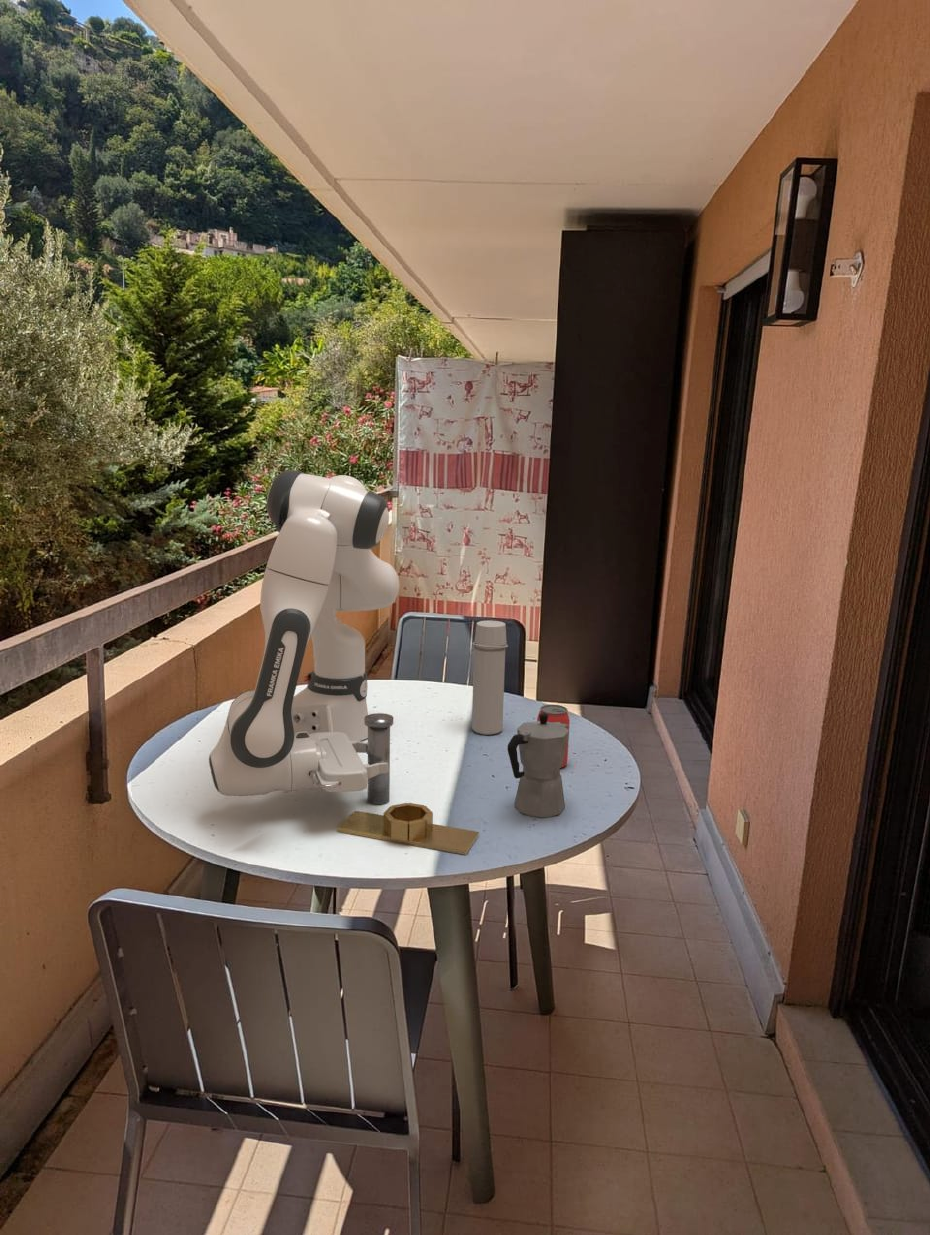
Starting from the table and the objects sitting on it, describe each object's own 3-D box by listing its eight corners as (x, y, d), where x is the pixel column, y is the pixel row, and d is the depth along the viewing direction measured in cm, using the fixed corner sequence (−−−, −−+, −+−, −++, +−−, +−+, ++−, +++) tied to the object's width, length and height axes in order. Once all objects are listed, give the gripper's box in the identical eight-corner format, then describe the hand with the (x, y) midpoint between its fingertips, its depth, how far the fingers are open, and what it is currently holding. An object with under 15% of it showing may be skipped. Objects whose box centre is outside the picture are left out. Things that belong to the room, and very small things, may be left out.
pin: (359, 803, 158) (359, 720, 155) (371, 792, 163) (371, 711, 160) (386, 808, 157) (386, 724, 153) (397, 796, 161) (397, 715, 158)
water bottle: (498, 738, 193) (502, 629, 187) (465, 733, 195) (468, 625, 190) (510, 725, 201) (514, 620, 196) (478, 720, 204) (481, 617, 198)
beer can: (565, 771, 175) (568, 715, 173) (533, 768, 176) (535, 712, 174) (568, 759, 182) (571, 705, 179) (537, 756, 183) (539, 702, 180)
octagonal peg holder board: (336, 832, 147) (336, 811, 146) (355, 813, 154) (355, 793, 153) (465, 856, 140) (465, 834, 139) (479, 835, 147) (480, 814, 146)
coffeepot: (544, 789, 166) (548, 699, 163) (582, 805, 160) (588, 712, 156) (487, 812, 156) (490, 717, 152) (525, 830, 149) (530, 731, 146)
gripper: (314, 770, 143) (395, 761, 148) (296, 728, 162) (369, 722, 167) (315, 805, 145) (395, 796, 149) (297, 760, 164) (369, 753, 168)
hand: (381, 756), depth 158 cm, fingers open, 8 cm apart
